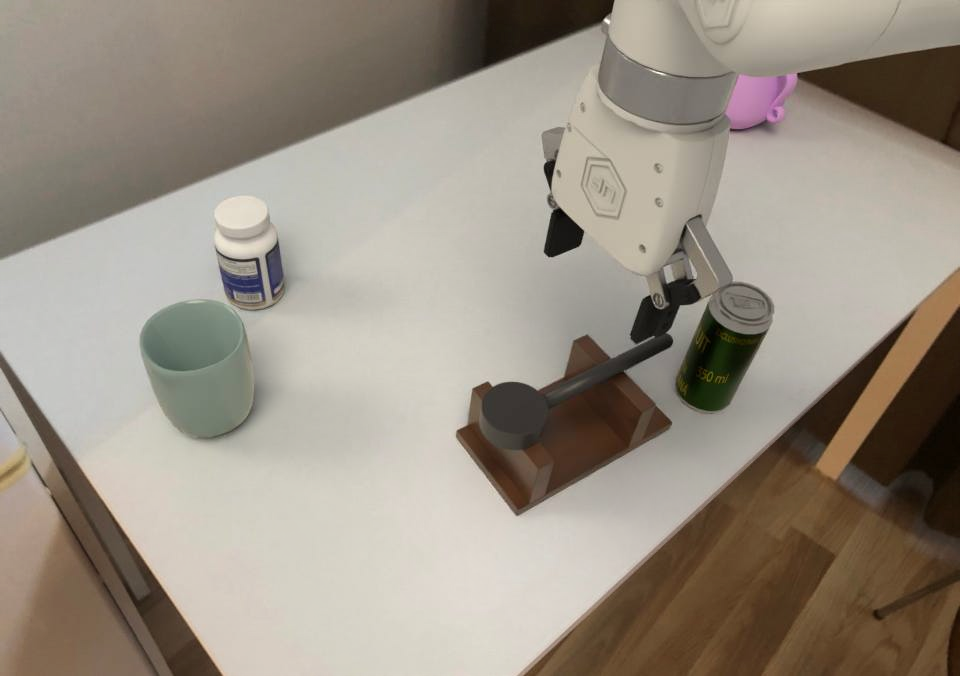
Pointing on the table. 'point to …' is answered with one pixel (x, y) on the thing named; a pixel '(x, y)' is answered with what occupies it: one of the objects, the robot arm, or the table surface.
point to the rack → (567, 434)
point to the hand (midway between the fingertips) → (603, 290)
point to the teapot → (759, 100)
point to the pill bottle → (248, 253)
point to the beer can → (724, 346)
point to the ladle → (549, 398)
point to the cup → (199, 366)
